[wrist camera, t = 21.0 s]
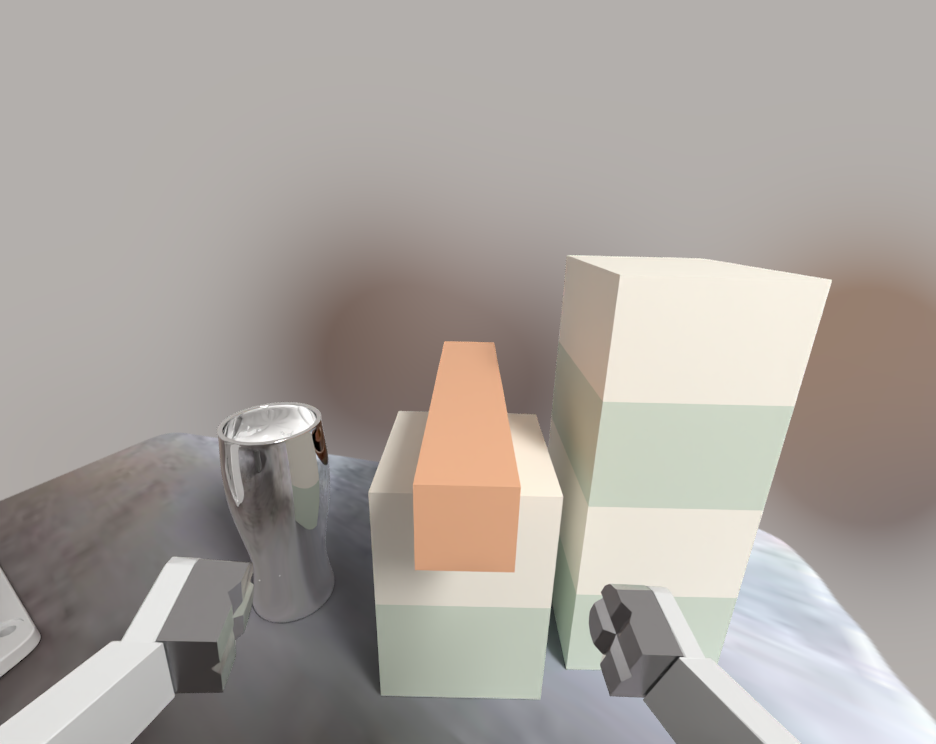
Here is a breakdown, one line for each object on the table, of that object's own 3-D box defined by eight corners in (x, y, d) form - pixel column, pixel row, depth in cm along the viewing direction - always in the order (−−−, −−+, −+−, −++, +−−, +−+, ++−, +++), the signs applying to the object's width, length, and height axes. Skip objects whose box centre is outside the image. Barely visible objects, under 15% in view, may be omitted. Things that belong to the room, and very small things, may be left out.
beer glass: (256, 565, 37) (228, 404, 32) (341, 552, 39) (327, 397, 34) (236, 638, 31) (197, 451, 26) (339, 618, 32) (321, 439, 27)
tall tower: (714, 672, 29) (831, 280, 20) (566, 669, 29) (620, 274, 20) (646, 545, 40) (703, 258, 32) (539, 543, 40) (566, 255, 32)
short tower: (540, 699, 27) (563, 497, 22) (381, 695, 27) (368, 492, 22) (522, 575, 37) (535, 414, 32) (404, 572, 37) (398, 410, 32)
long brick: (514, 572, 17) (520, 487, 16) (414, 570, 17) (412, 484, 16) (492, 388, 36) (494, 342, 35) (444, 387, 36) (444, 341, 35)
